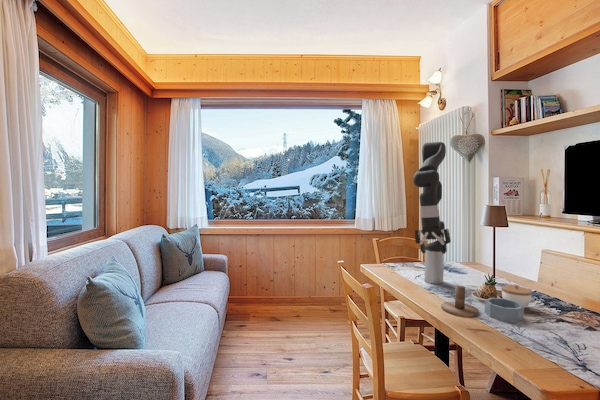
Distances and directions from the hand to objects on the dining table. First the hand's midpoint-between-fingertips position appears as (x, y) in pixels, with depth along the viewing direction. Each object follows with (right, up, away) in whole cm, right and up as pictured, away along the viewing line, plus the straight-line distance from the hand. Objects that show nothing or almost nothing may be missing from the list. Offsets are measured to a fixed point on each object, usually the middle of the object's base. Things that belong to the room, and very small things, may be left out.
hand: (433, 253), depth 136 cm
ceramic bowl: (+23, -23, -11) cm, 35 cm away
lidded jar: (+35, -23, -1) cm, 42 cm away
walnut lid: (+8, -23, -6) cm, 25 cm away
